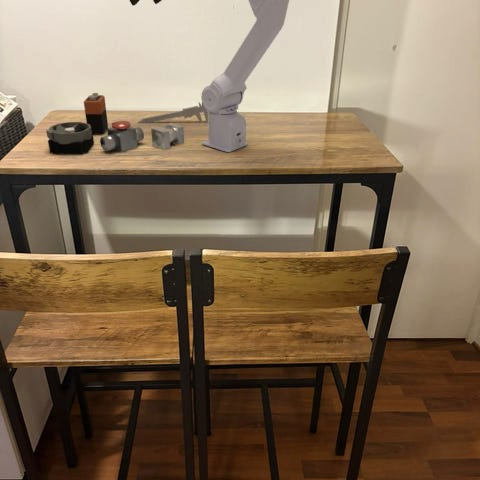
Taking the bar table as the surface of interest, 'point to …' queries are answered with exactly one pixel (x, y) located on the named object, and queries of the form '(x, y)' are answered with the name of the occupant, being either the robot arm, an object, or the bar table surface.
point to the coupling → (167, 135)
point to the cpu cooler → (70, 138)
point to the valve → (121, 137)
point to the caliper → (178, 114)
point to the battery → (96, 113)
